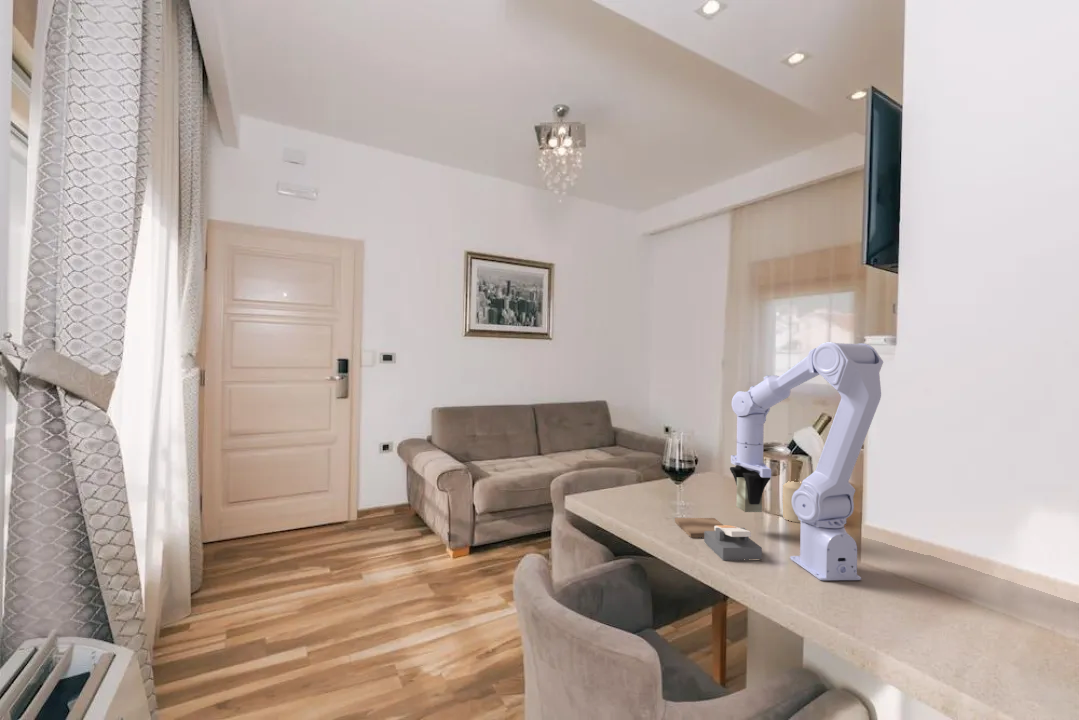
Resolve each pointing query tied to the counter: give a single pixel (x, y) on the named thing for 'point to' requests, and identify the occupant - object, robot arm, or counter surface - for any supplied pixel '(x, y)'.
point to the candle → (790, 500)
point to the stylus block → (745, 498)
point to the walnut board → (697, 525)
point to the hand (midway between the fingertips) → (749, 500)
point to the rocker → (733, 531)
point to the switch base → (732, 546)
